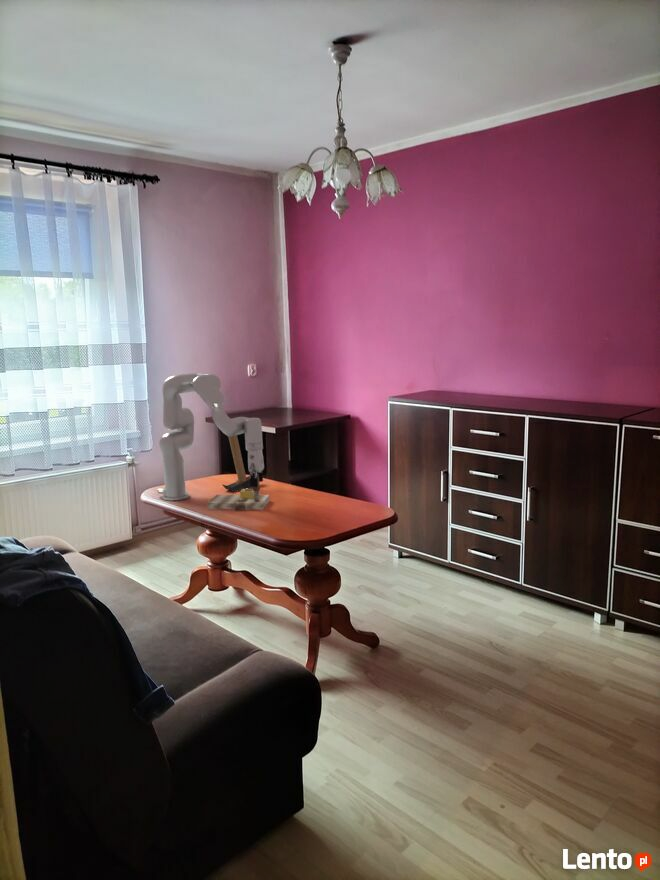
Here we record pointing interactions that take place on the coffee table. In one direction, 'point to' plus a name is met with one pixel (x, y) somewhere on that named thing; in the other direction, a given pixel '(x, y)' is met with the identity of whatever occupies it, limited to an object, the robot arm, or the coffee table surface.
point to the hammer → (238, 467)
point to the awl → (256, 490)
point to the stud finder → (247, 493)
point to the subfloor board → (237, 502)
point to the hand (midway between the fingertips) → (256, 484)
